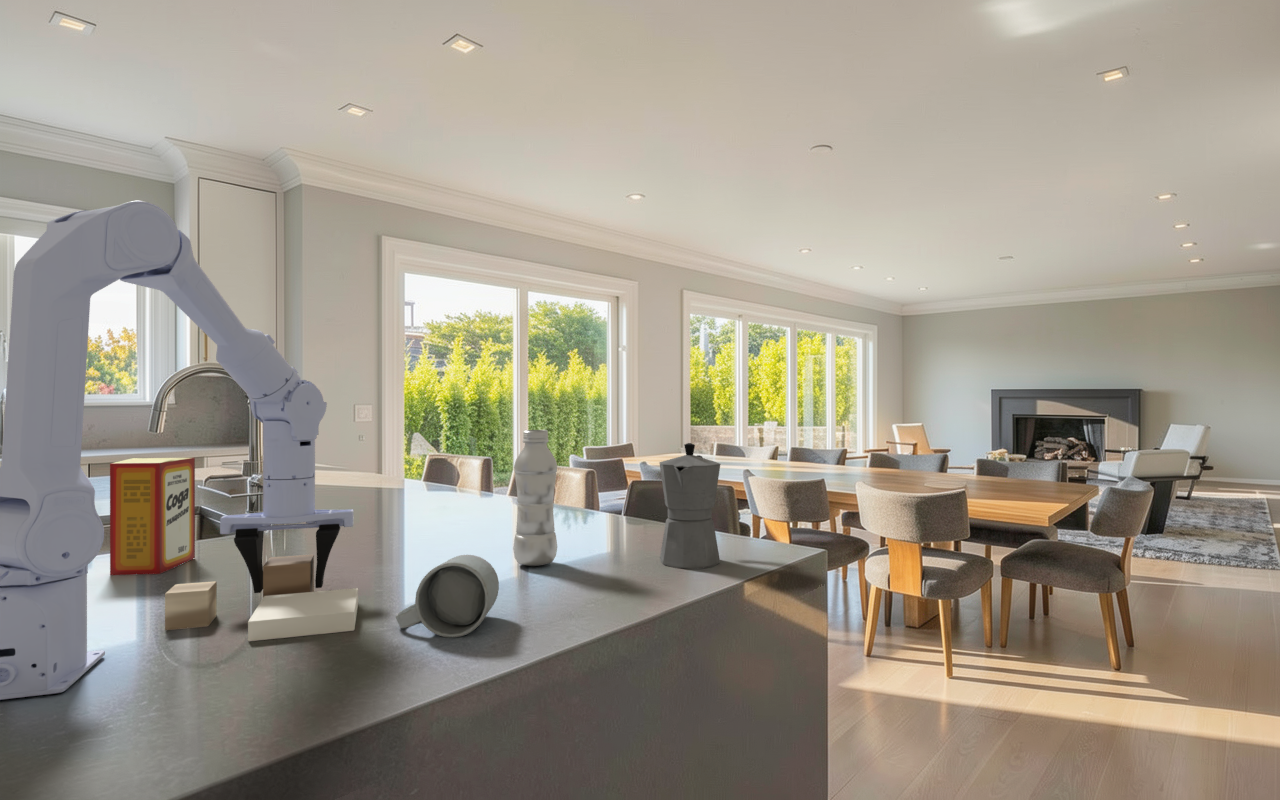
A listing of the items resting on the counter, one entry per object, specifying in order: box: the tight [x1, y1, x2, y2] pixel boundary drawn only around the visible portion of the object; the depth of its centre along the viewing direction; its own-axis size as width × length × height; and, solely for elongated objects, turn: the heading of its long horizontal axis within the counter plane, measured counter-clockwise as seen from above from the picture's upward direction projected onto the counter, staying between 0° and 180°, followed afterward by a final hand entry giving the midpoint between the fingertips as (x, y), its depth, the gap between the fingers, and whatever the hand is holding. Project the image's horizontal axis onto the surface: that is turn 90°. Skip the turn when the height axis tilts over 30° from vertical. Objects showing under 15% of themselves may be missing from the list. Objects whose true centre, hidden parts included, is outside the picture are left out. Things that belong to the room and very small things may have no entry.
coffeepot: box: [658, 442, 721, 570], centre depth 108 cm, size 15×9×18 cm, turn 164°
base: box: [247, 587, 359, 642], centre depth 78 cm, size 10×10×2 cm
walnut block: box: [262, 553, 315, 598], centre depth 86 cm, size 5×5×5 cm
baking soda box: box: [109, 457, 196, 576], centre depth 104 cm, size 10×6×16 cm
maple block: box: [164, 580, 218, 631], centre depth 78 cm, size 4×4×4 cm
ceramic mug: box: [395, 554, 500, 638], centre depth 77 cm, size 11×8×8 cm
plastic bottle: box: [512, 429, 558, 567], centre depth 105 cm, size 6×7×20 cm
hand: (289, 588), depth 86 cm, fingers open, 6 cm apart
